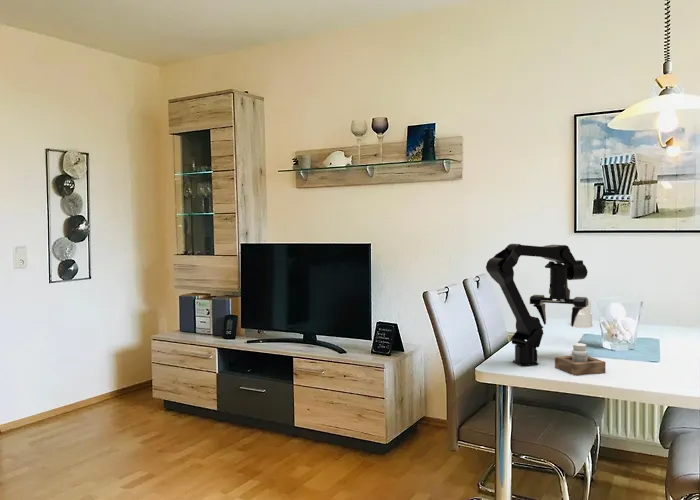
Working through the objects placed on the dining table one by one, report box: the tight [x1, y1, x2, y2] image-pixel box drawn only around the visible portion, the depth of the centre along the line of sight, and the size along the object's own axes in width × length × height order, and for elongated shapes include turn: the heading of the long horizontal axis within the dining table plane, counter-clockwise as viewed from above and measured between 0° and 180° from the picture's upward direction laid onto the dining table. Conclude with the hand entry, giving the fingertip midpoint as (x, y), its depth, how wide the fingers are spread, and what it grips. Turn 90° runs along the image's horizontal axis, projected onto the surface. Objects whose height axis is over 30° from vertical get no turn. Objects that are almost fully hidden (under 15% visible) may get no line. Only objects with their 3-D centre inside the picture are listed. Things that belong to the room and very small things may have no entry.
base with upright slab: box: [570, 299, 593, 329], centre depth 275 cm, size 9×9×12 cm
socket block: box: [554, 355, 606, 376], centre depth 196 cm, size 11×11×4 cm
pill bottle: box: [571, 342, 589, 362], centre depth 196 cm, size 5×5×8 cm
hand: (558, 325), depth 211 cm, fingers open, 9 cm apart
